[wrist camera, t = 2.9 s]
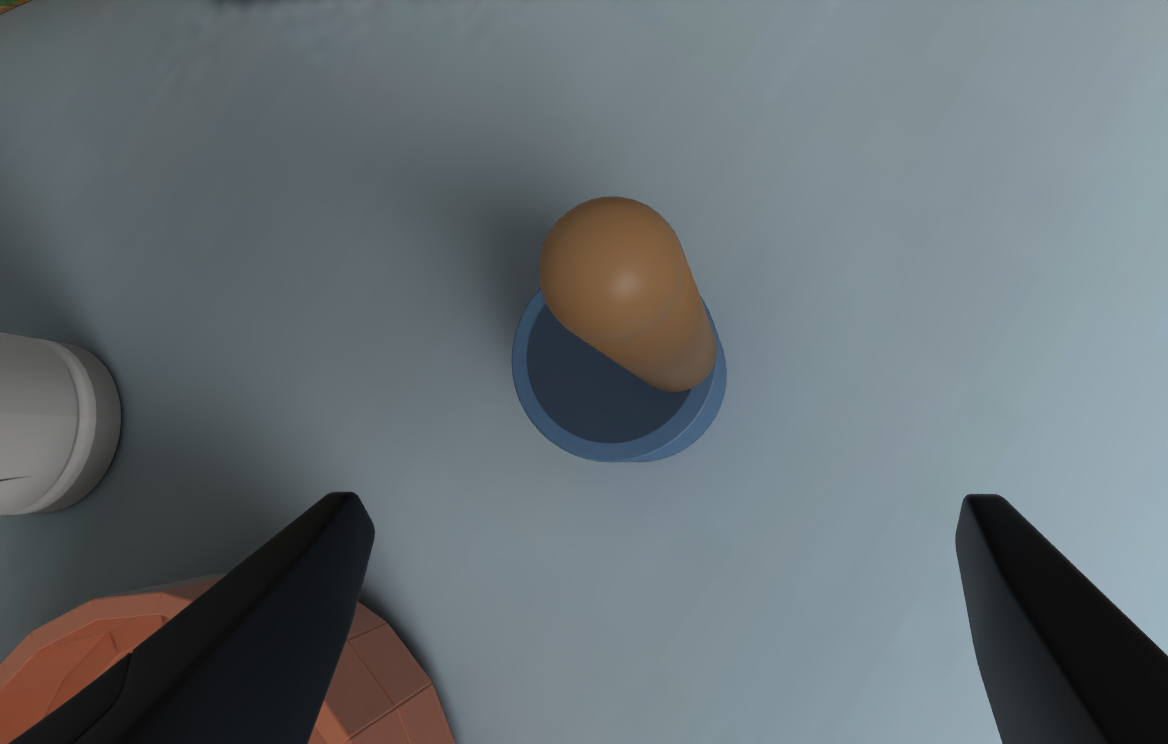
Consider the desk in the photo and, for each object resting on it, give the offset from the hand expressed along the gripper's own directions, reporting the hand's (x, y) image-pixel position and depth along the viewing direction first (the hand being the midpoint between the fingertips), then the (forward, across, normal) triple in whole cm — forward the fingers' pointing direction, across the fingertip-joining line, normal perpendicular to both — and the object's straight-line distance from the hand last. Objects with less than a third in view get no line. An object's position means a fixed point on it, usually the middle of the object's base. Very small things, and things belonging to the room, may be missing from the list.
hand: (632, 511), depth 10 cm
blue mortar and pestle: (+10, +2, +5) cm, 11 cm away
